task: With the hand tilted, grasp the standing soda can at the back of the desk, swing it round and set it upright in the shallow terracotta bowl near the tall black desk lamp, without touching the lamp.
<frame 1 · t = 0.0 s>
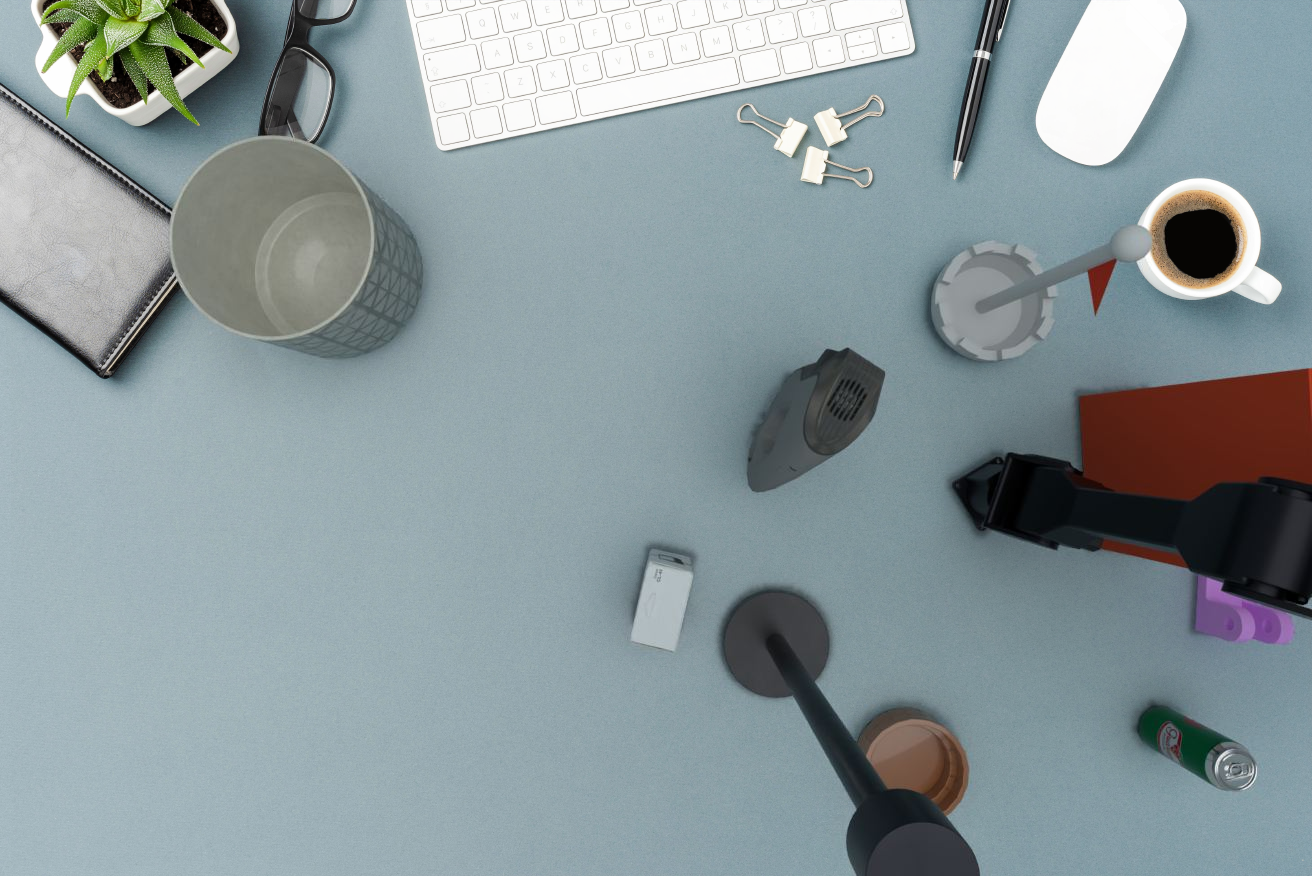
bracket: (1221, 574, 89), on the table
desk lamp: (774, 641, 89), on the table
handheld device: (789, 430, 89), on the table
soda can: (1156, 726, 89), on the table
planter: (349, 280, 89), on the table
ink box: (661, 587, 89), on the table
flag stand: (977, 308, 90), on the table
file binder: (1113, 468, 89), on the table
bowl: (903, 757, 89), on the table
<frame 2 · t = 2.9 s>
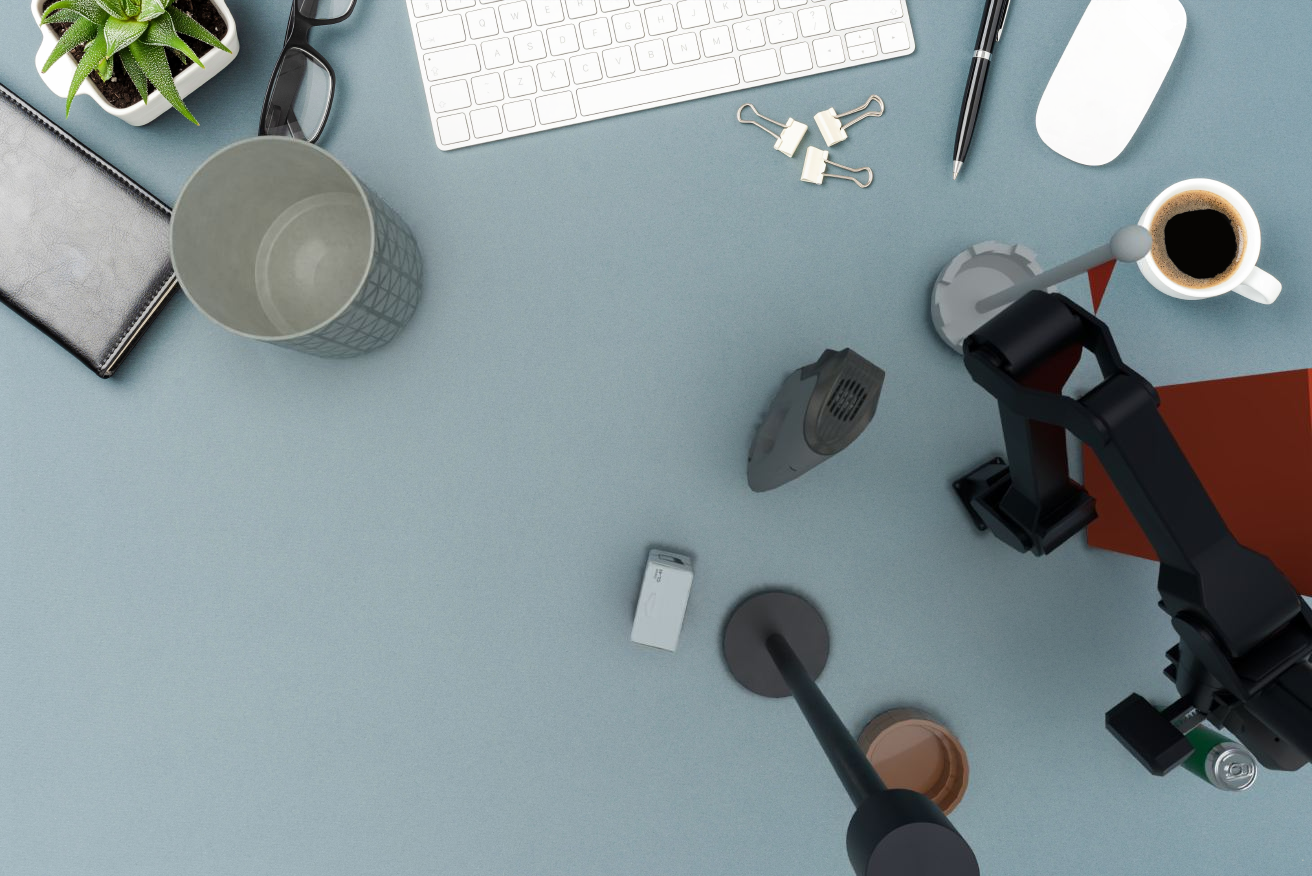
hand: (1203, 717, 76), 13 cm above the table, tool tilted 45°, fingers open, 9 cm apart
nothing on the table moved.
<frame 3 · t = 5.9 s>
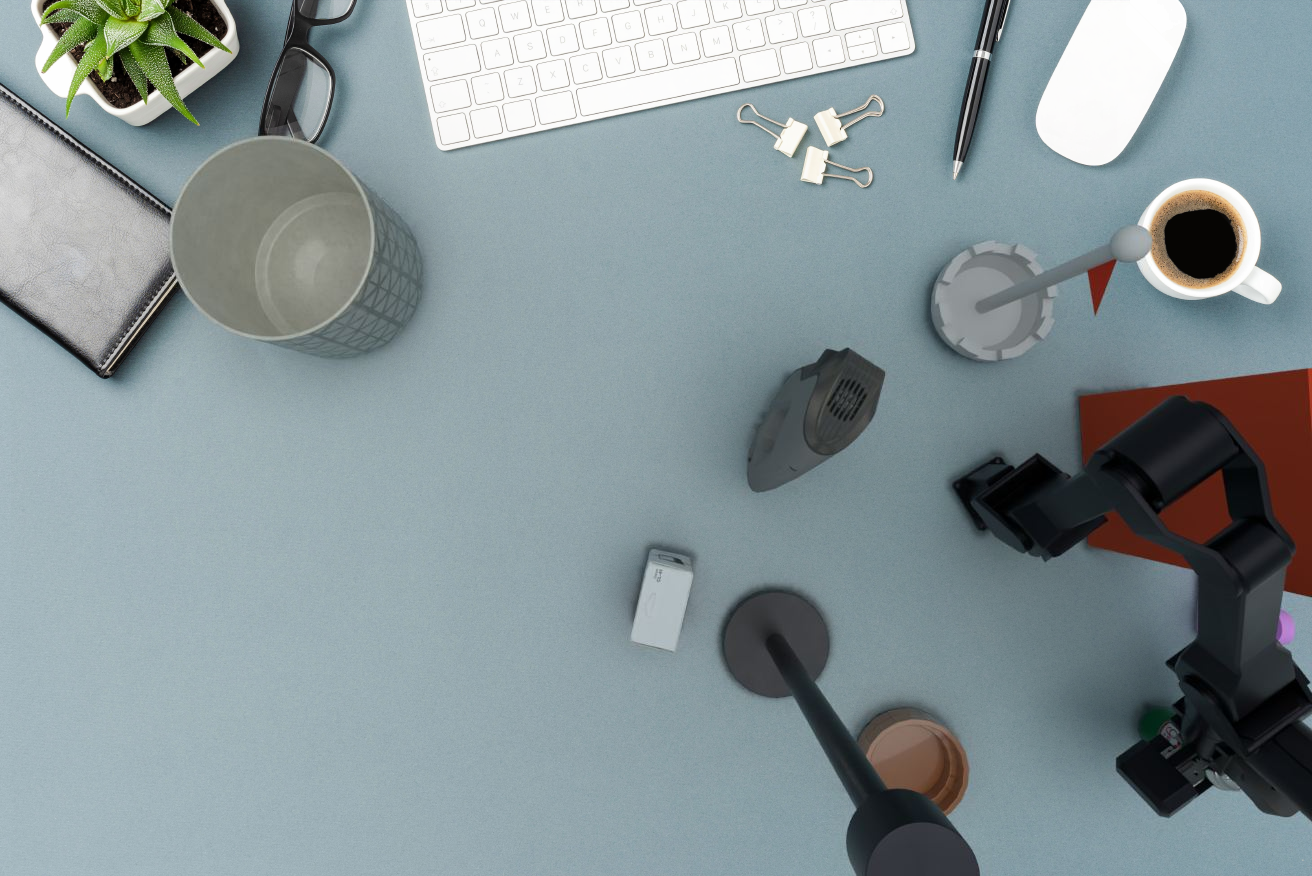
hand: (1205, 759, 82), 7 cm above the table, tool tilted 45°, fingers closed on soda can, 5 cm apart
soda can: (1156, 726, 89), on the table, touching gripper
everything else where it was.
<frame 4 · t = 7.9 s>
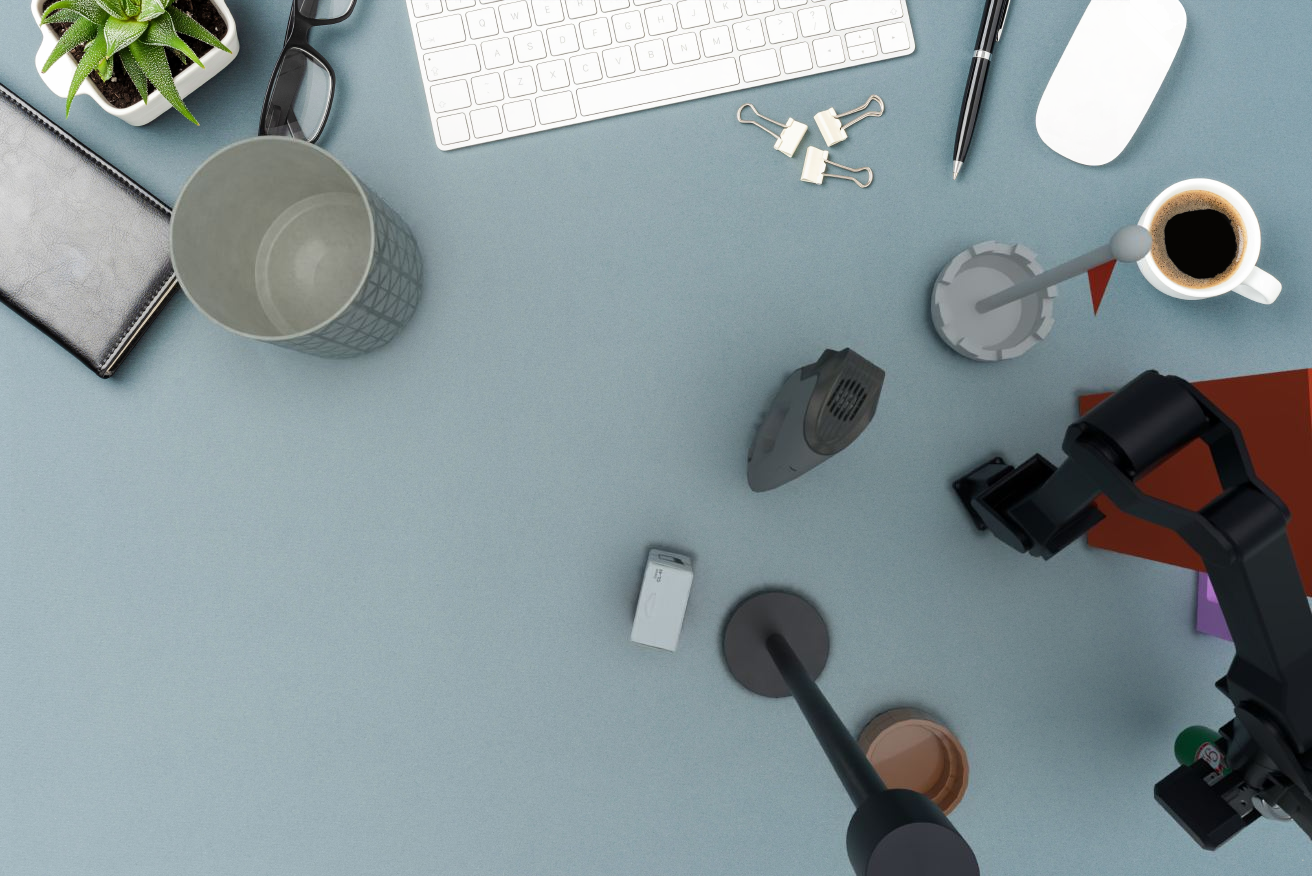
hand: (1248, 784, 76), 13 cm above the table, tool tilted 45°, fingers closed on soda can, 5 cm apart
soda can: (1192, 745, 83), point 6 cm above the table, touching gripper
everything else where it was.
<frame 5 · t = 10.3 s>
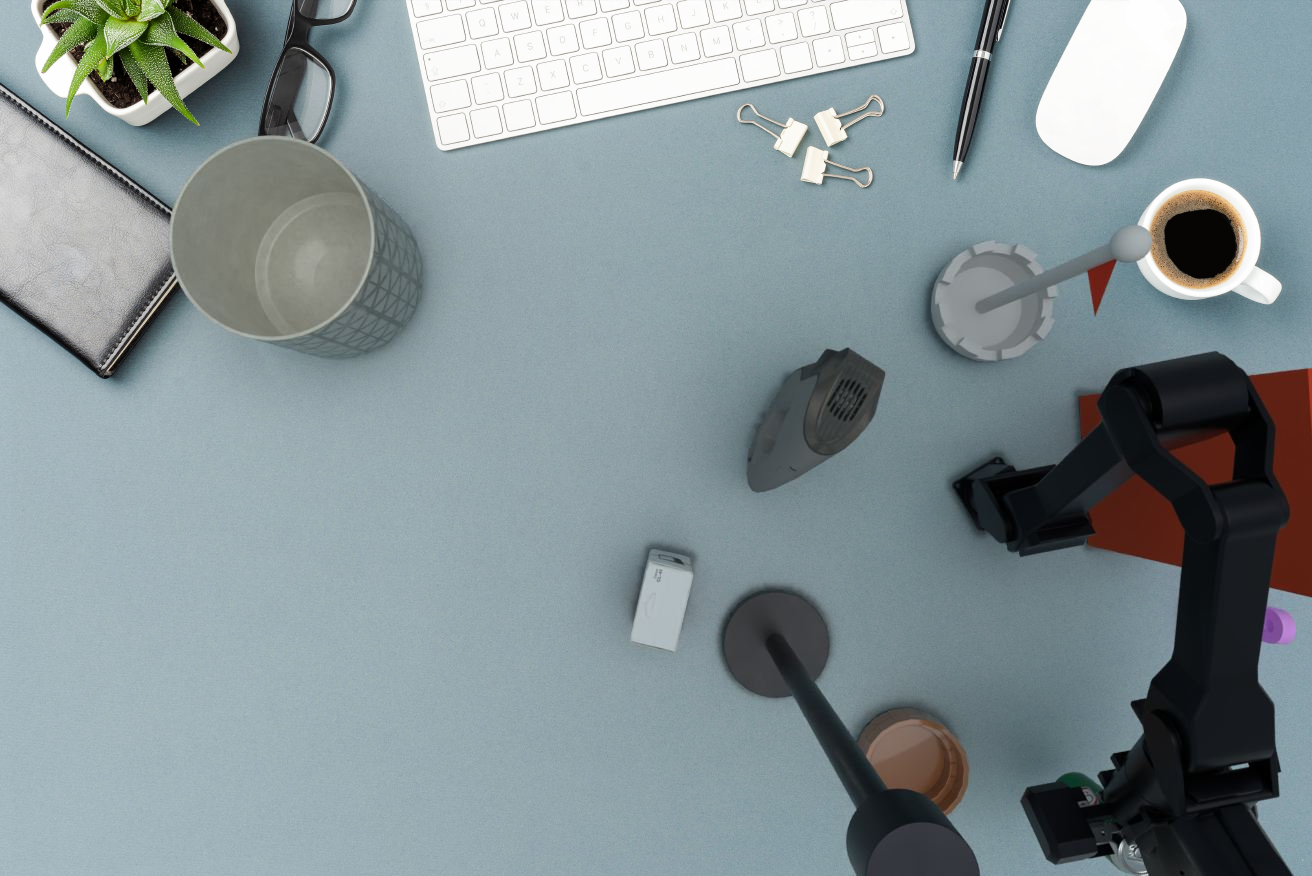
hand: (1109, 837, 76), 13 cm above the table, tool tilted 45°, fingers closed on soda can, 5 cm apart
soda can: (1069, 792, 83), point 6 cm above the table, touching gripper
everything else where it was.
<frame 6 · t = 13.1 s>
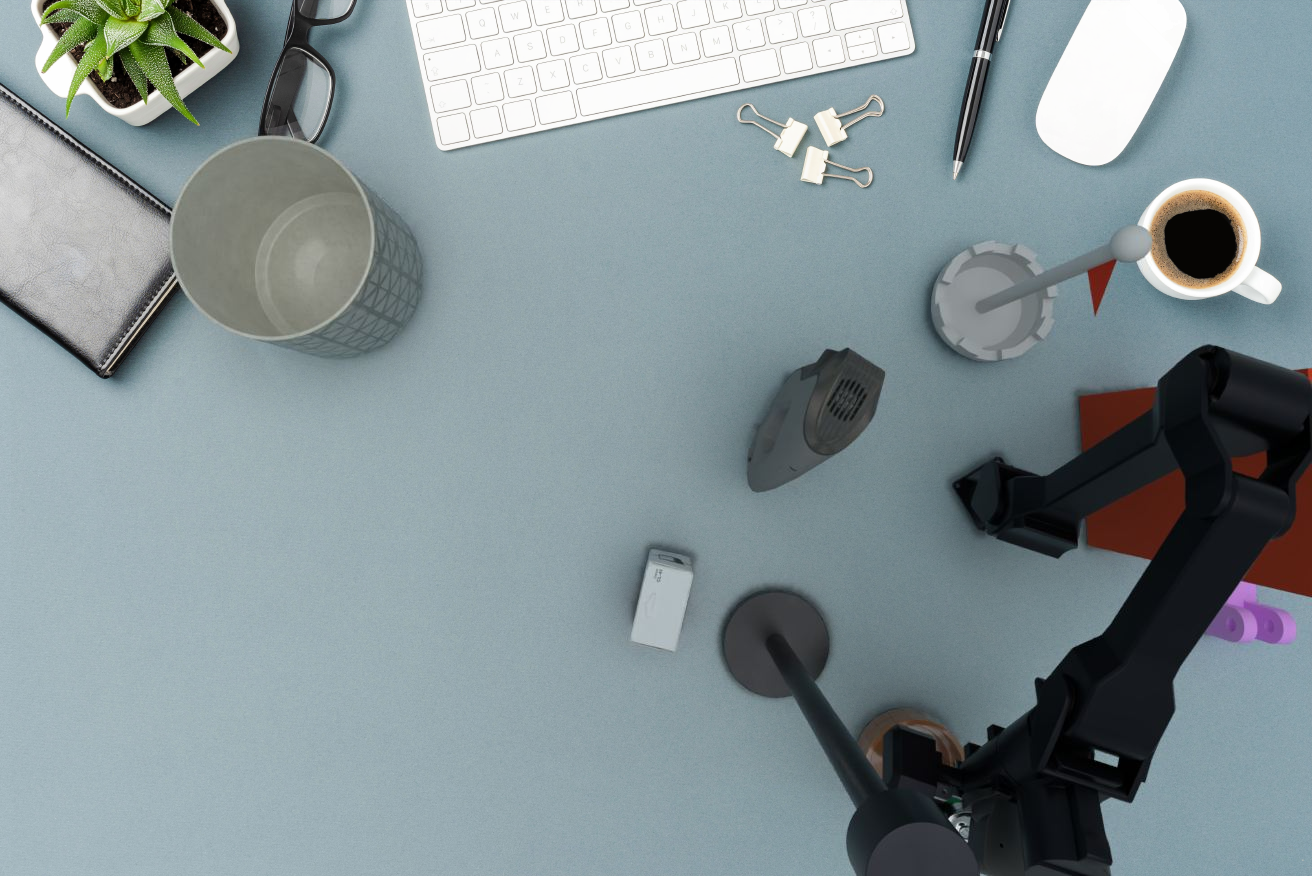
hand: (940, 818, 76), 12 cm above the table, tool tilted 45°, fingers closed on soda can, 5 cm apart
soda can: (921, 775, 83), point 6 cm above the table, touching gripper
everything else where it was.
when the fingers open (7 cm above the table, at t = 15.0 s): soda can stays where it is, resting on bowl.
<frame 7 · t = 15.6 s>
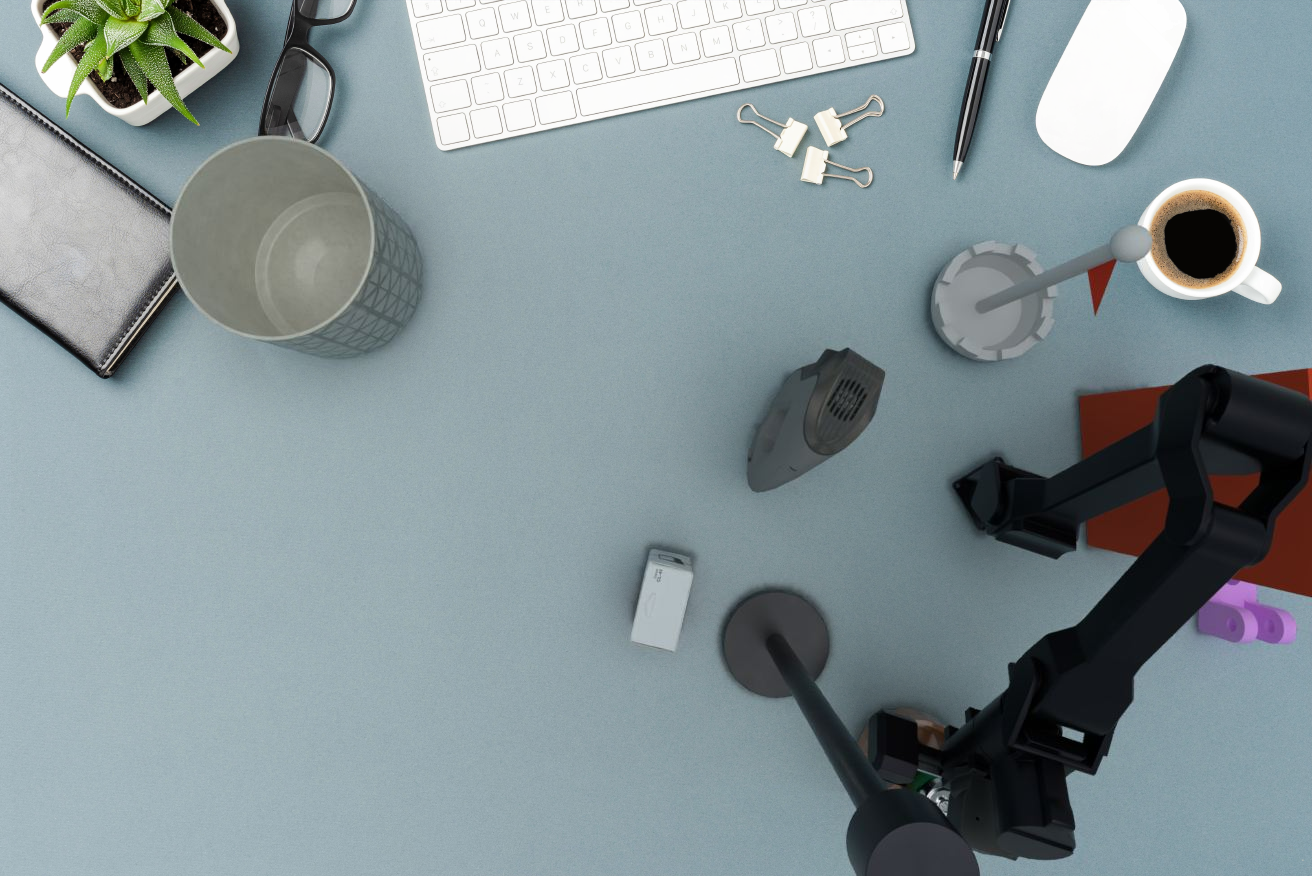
hand: (923, 799, 81), 8 cm above the table, tool tilted 45°, fingers open, 9 cm apart
soda can: (905, 757, 88), resting on bowl
everything else where it was.
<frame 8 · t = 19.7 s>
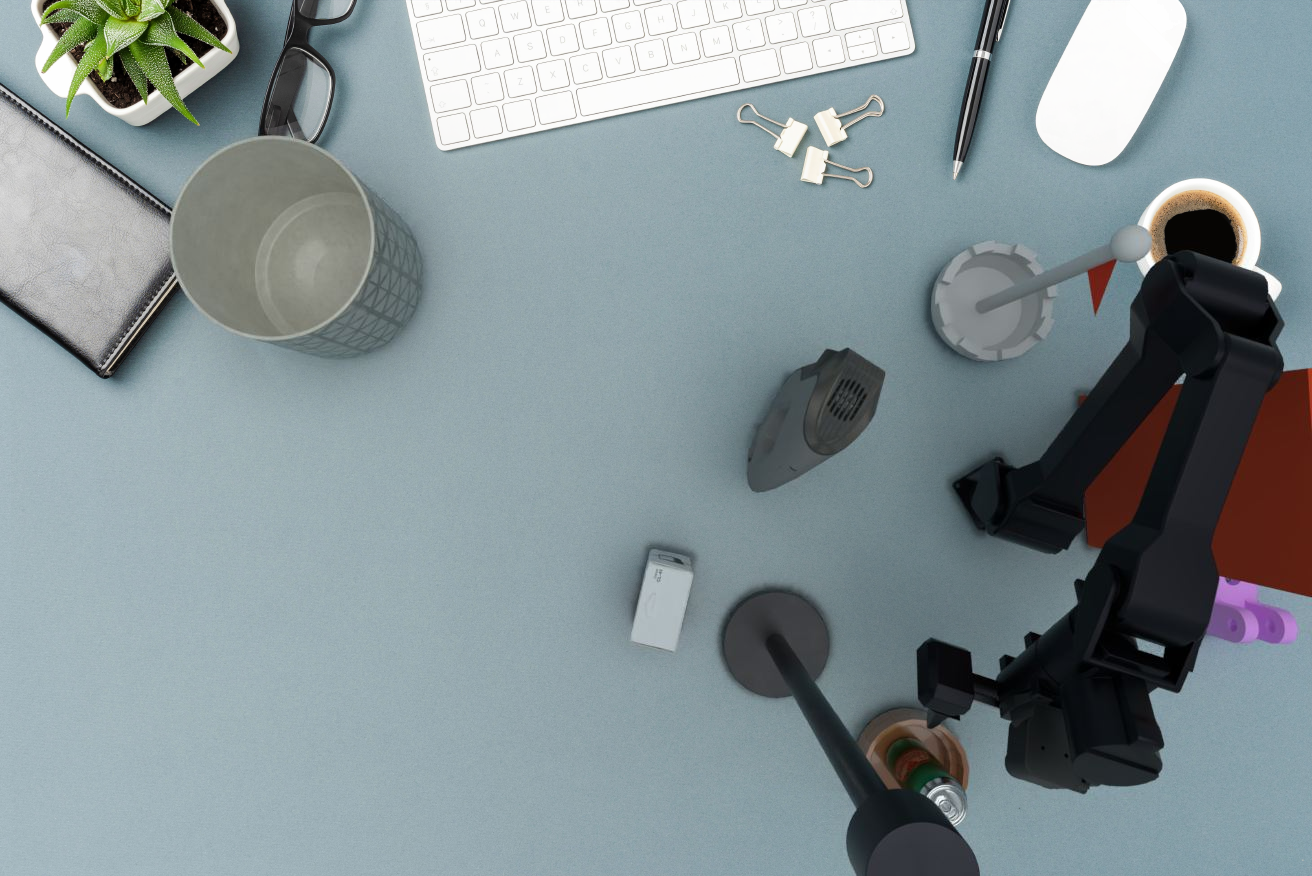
hand: (973, 739, 75), 14 cm above the table, tool tilted 45°, fingers open, 9 cm apart
nothing on the table moved.
at the end: soda can 0.2 cm off-centre in the bowl, point 0.4 cm above the bowl's base; soda can tilted 0°; soda can touching bowl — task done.
